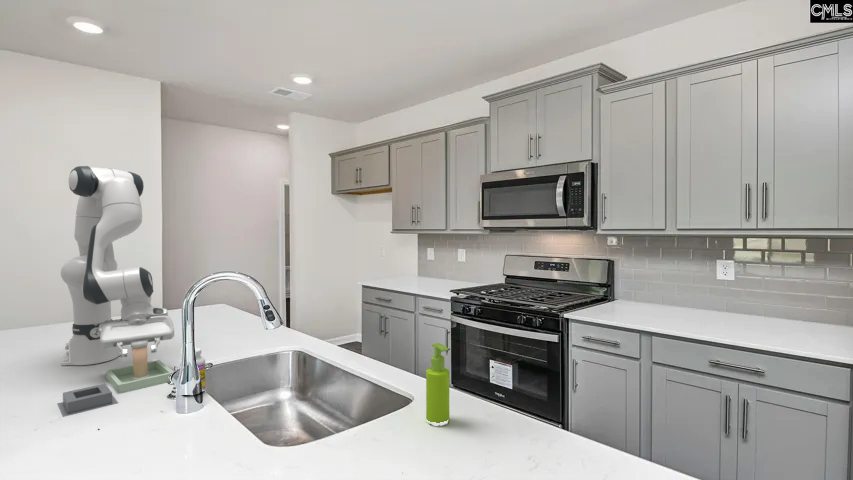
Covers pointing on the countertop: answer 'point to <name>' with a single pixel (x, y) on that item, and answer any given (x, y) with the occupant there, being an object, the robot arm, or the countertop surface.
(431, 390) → the soap dispenser
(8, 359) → the countertop surface
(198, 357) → the supplement bottle
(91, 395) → the socket block
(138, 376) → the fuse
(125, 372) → the parts tray
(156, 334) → the robot arm
